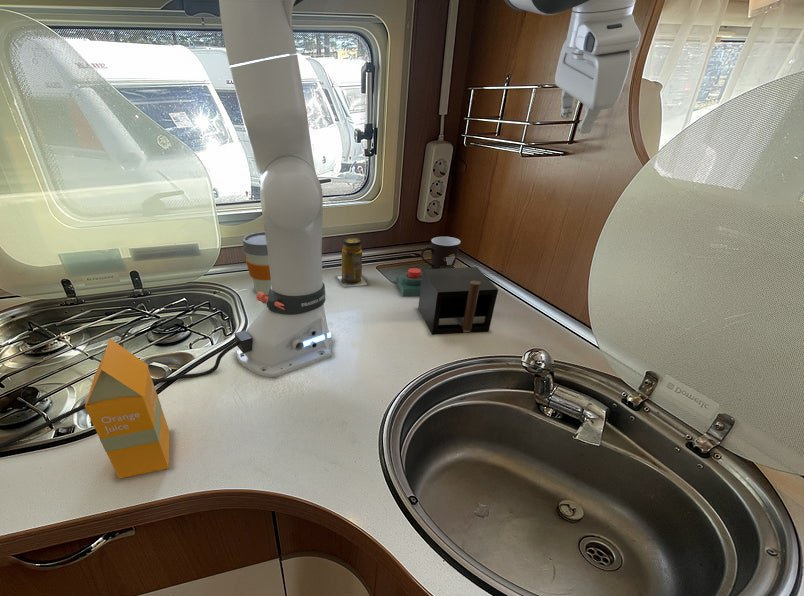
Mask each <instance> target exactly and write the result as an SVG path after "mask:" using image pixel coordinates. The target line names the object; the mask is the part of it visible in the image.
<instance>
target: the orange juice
mask: <svg viewBox="0 0 804 596" xmlns="http://www.w3.org/2000/svg"><path fill="white" fill-rule="evenodd" d="M85 403H86V405H85V411H86V412H87V415H88V417H89V419H90V422H91V423H92V425H93V427H94V429H95V431H96V434H97V436H98V438H99V441H100V443H101V445H102V448H103V449H104V451H105V452H106V455H107V457H108V460H109V461H110V463H111V465H112V467H113V469H114V472H115V474H116V476H117V478H118V480H121V479H125V478H129V477H135V476H139V475H144V474H148V473H154V472H157V471H162V470H167V469H169V468H170V447H171V446H170V444H171V442H170V441H171V432H170V431H171V430H170V428H169V426H168V422H167V420H166V417H165V414H164V411H163V407H162V403H161V401H160V398H159V394H158V392H157V390H156V387H155V384H153V378H152V375H151V372H150V369H149V364H147V363H146V362H144V361H143V360H142V359H140V358H139V357H137V356H136V355H135V354H133V353H132V352H130V351H129V350H128V349H126V348H125V347H123V346H122V345H121V344H119V343H118V342H116V341H115V340H113V339H112V338H110V337H109V338H108V342H107V345H106V348H105V350H104V353H103V356H102V357H101V360H100V362H99V365H98V366H97V369H96V372H94V375H93V379H92V382H91V385H90V389H89V392H88V395H87V399H86V402H85Z"/></svg>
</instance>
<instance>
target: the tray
mask: <svg viewBox="0 0 804 596" xmlns="http://www.w3.org/2000/svg"><path fill="white" fill-rule="evenodd" d="M480 284H481V283H480V282H479V281H471V282H470V285H469V291H468V296H467V300H466V301H465V302H445V303H441V309H440V315H439V322H438V325H455V324H458V325H459V327H460V328H461V330H462V331H463V332H470V330H471V329H472V325H473V324H474V323H484V322H485V317H486V316H485V315H483V314H482V313H481V311H480V310H479V309H478V308H477V306H476V304H477V299H478V294H479V289H480Z"/></svg>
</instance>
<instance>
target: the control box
mask: <svg viewBox="0 0 804 596" xmlns="http://www.w3.org/2000/svg"><path fill="white" fill-rule="evenodd" d="M395 277H396V278H395V284H396V285H397V287H398V289H399V292H400V294H401V296H402V297H418V296H420V287H421V278H422V272H421V276H420V278H416V279H413V278H409V277H408V271H407V272H404V273H403V274H402V275H396V276H395Z"/></svg>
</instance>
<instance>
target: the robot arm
mask: <svg viewBox="0 0 804 596" xmlns="http://www.w3.org/2000/svg"><path fill="white" fill-rule="evenodd" d="M303 1H304V0H218V2H219V3H218V5H219V15H220V24H221V31H222V36H223V42H224V46H225V48H224V49H225V52H226V53H225V54H226V57H227V63H228V66H229V68H230V73H231V78H232V80H233V81H232V82H233V85H234V90H235V94H236V98H237V101H238V106H239V109H240V113H241V114H240V115H241V118H242V123H243V126H244V129H245V132H246V135H247V139H248V141H249V142H248V143H249V145H250V149H251V152H252V155H253V159H254V163H255V167H256V171H257V174H258V179H259V185H260V188H259V197H260V207H261V214H262V221H263V222H262V223H263V229H264V232H265V237H266V244H267V251H268V259H269V268H270V277H271V286H270V290H269V294H268V295H267V294H264V293H263V292H258V293H257V292H256V295H255V299H256V301H258V302H261V303H262V304H266V306H265V307H264V308H263V309H262V311H261V312H260V313H259V314H258V315H257V317H256V318H255V319H254V320H253V322H252V323H250V325H249V326H248V327H247V329H246V330H245V329H244V330H241V331H237V332H235V333H234V339H235V342H233V343H232V344H229V346H227V347H225V348H224V349H223V350H221V352H219V354H218V356H217V357H216V360H215V363H214V365H213V366H212V367H211V368H209V369H207V370H206V371H203V372H198V373H197V372H196V373H185V374H178V375H173V376H168V377H164V378H158V379H154V380H153V379H152V381H153V384H154V385H158V384H163V383H164V384H165V383H168V382H174V381H178V380H182V379H184V380H185V379H193V378H199V377H205V376H208V375H211V374H212V373H214V372H215V371H217V369H218V368H219V366H220V363H221V360H222V358H223V357H224V356H225V355H226V354H227V353H228V352H230V351H232V350H233V349H235V348H236V347H237V348H238V349H236V359H237V361H238V362H239V364H241V366H243V367H244V368H245V369H247V370H249V371H251V372H252V373H254V374H257V375H258V376H262V377H266V378H276V377H279V376H282V375H285V374H287V373H291V372H293V371H296V370H299V369H302V368H304V367H307V366H309V365H310V366H311V365H312V364H315V363H318V362H320V361H323V360H325V359H329V358H331V356H332V350H331V346H332V344H333V339H332V332H330V330H329V327H328V322H327V316H326V310H325V302H326V286H325V285H326V284H325V283H324V282H323V281H324V280H323V279H324V278H323V275H324V274H323V249H322V248H323V217H324V214H323V207H324V205H323V202H324V201H323V197H324V196H323V187H322V184H321V182H320V179H319V178H318V175H317V172H316V168H315V162H314V161H315V160H314V155H313V149H312V142H311V135H310V128H309V127H310V126H309V119H308V112H307V105H306V99H305V93H304V87H303V81H302V76H301V69H300V64H299V58H298V52H297V51H298V50H297V47H296V40H295V36H294V35H295V34H294V28H293V9H294V7H296V5H298V4H300V3H301V2H303ZM503 1H504V2H505V4H506V5H508V6H509V7H510V8H511V9H513V10H515V11H518V12H530V13H534V14H538V15H543V16H553V15H557V14H560V13H563V12H564V11H567V10H571V15H570V20H569V24H568V29H567V33H566V34H567V35H566V39H565V41H564V42H563V45H562V47H561V50H560V54H559V58H558V62H557V66H556V70H555V74H554V85H555V86H556V87H558V88H559V89H560V90H561V94H560V95H561V96H560V98H561V101H560V102H561V110H560V114H559V117H561V118H562V119H563V120H566V119H571V118H572V117H573V113H574V110H575V106H574V99H575V100H576V101H578V102H580V103H581V104H582V105H584V106H585V108H584V112H585V114H584V116H583V118H582V120H580V121H579V123H578V127H577V131H578V132H579V133H580V134H582V135H584V134H590V133H591V132H592V130H593V126H594V123H595V121H596V119H597V118H598V116H599V115H600V114H601V111H603V110H609V109H612V108H614V106H615V105H616V104H617V103H618V101H619V99H620V97H621V94H622V92H623V89H624V85H625V83H626V80H627V77H628V73H629V70H630V65H631V61H632V52H631V51H632V50H633V51H634V50H636V49H637V48H638V46H639V43H640V40H641V35H642V33H641V30H640V29H639V27H638V25H637V23H636V21H635V17H634V15H633V11H634V9H635V8H634V7H635V5H636V4H635V3H636V0H503ZM85 405H86V402H84V404H81V405H79V406H77V407H75V408H72V409H70V410H68V411H66V412H64V413H62V414H59V415H57V416H55V417H54V418H52V419H49V420H47V421H45V422H43V423H41V424H39V425H36V426H35V427H33V428H31V429H29V430H26V431H25V432H22V433H20V434H19V435H16V436H14V437H12V438H10V439H7V440H5V441H3V442H0V450H2V449H4V448H5V447H8V446H10V445H12V444H14V443H17V442H19V441H21V440H23V439H25V438H27V437H29V436H32V435H34V434H35V433H38V432H39V431H41V430H43V429H45V428H48V427H49V426H52V425H55V424H57V423H58V422H60V421H62V420H64V419H67V418H68V417H71V416H73V415H74V414H76V413H79V412H81V411H83V410H86V408H85Z"/></svg>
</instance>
